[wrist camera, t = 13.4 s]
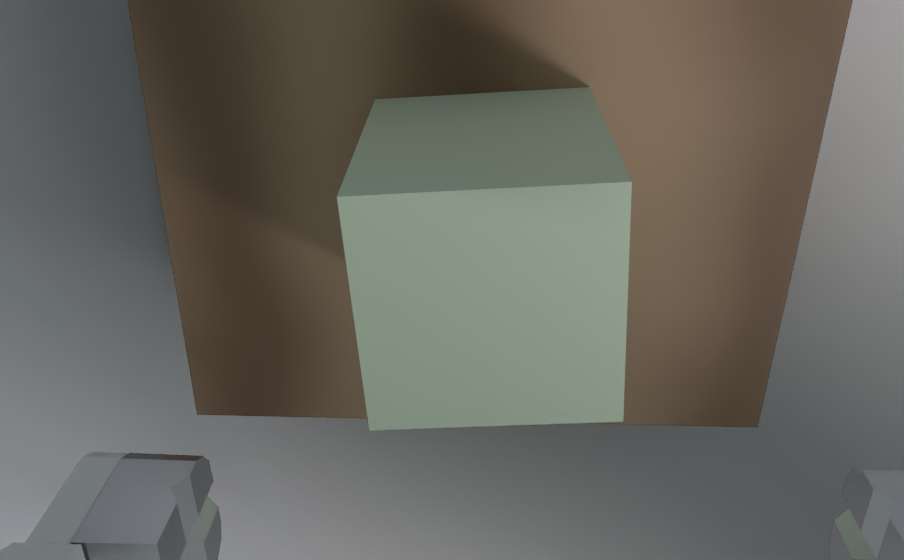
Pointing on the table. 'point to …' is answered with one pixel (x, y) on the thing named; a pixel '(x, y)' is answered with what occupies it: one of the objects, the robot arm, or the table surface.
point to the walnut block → (468, 72)
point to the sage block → (488, 260)
